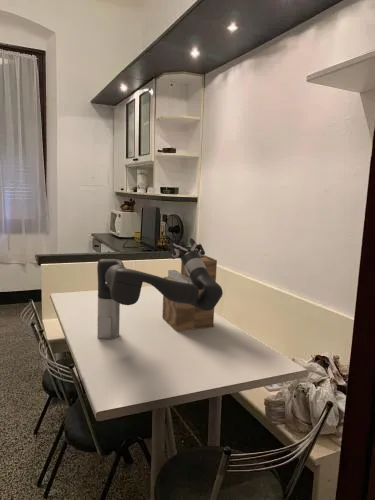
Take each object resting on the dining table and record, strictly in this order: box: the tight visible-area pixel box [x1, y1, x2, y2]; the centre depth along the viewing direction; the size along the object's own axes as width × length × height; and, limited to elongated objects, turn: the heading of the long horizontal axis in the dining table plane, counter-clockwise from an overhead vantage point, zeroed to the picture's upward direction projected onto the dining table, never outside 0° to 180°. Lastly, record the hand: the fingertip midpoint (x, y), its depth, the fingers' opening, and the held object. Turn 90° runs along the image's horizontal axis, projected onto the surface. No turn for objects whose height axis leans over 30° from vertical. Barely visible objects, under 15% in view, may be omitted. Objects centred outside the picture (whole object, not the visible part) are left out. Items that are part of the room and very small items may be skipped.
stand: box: [161, 249, 218, 332], centre depth 186 cm, size 18×19×34 cm
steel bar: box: [167, 269, 193, 284], centre depth 179 cm, size 24×4×4 cm, turn 23°
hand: (181, 239), depth 162 cm, fingers open, 8 cm apart
